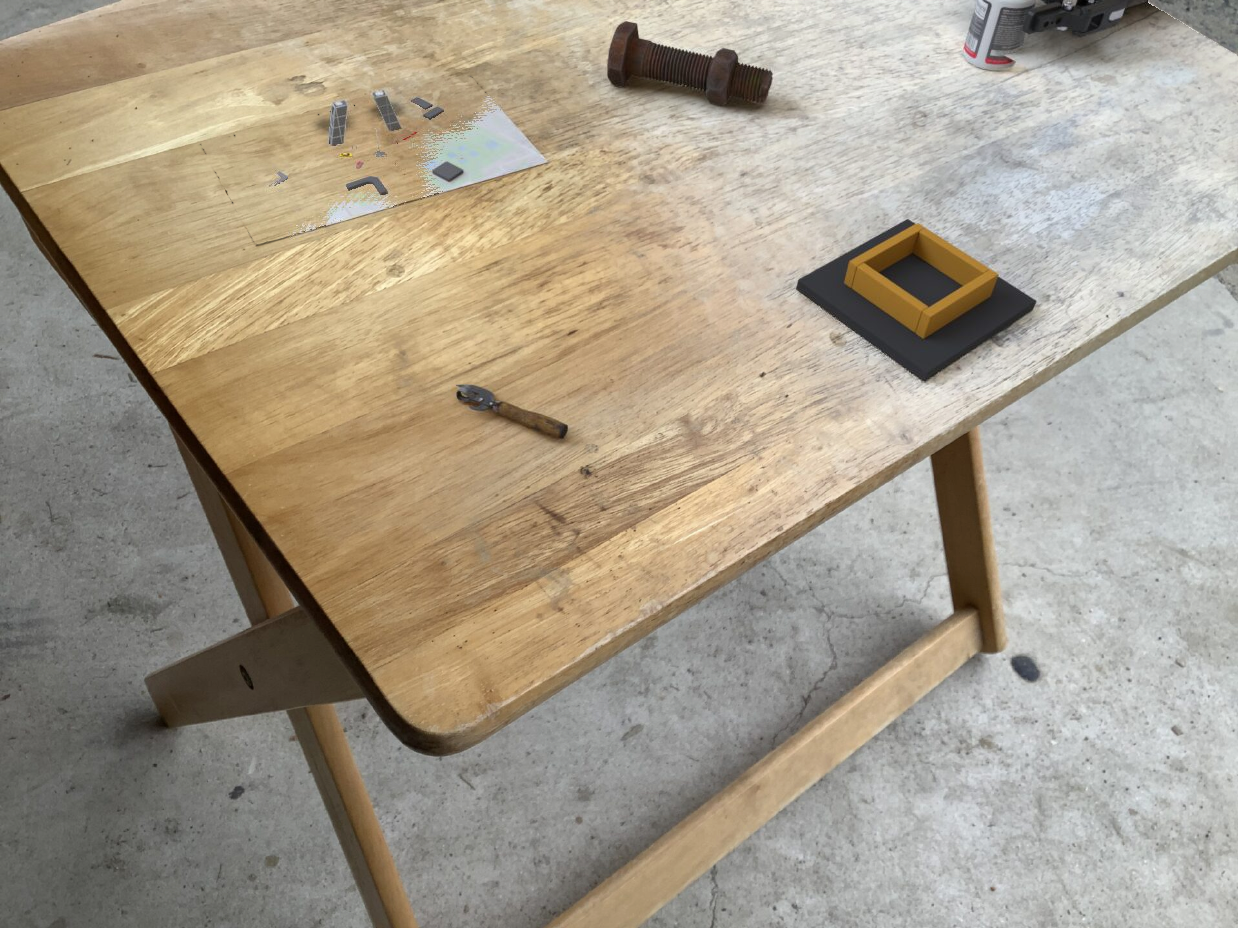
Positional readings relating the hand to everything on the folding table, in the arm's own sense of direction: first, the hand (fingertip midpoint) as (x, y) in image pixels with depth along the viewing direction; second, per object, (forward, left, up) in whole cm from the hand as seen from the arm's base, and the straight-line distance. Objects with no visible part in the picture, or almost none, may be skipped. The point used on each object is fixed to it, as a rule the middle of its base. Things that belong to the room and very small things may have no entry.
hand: (996, 3), depth 105 cm
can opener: (-11, +66, -6) cm, 67 cm away
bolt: (+13, +28, -6) cm, 31 cm away
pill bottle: (0, -1, -6) cm, 6 cm away
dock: (-20, +34, -6) cm, 40 cm away
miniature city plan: (+22, +57, -6) cm, 61 cm away
